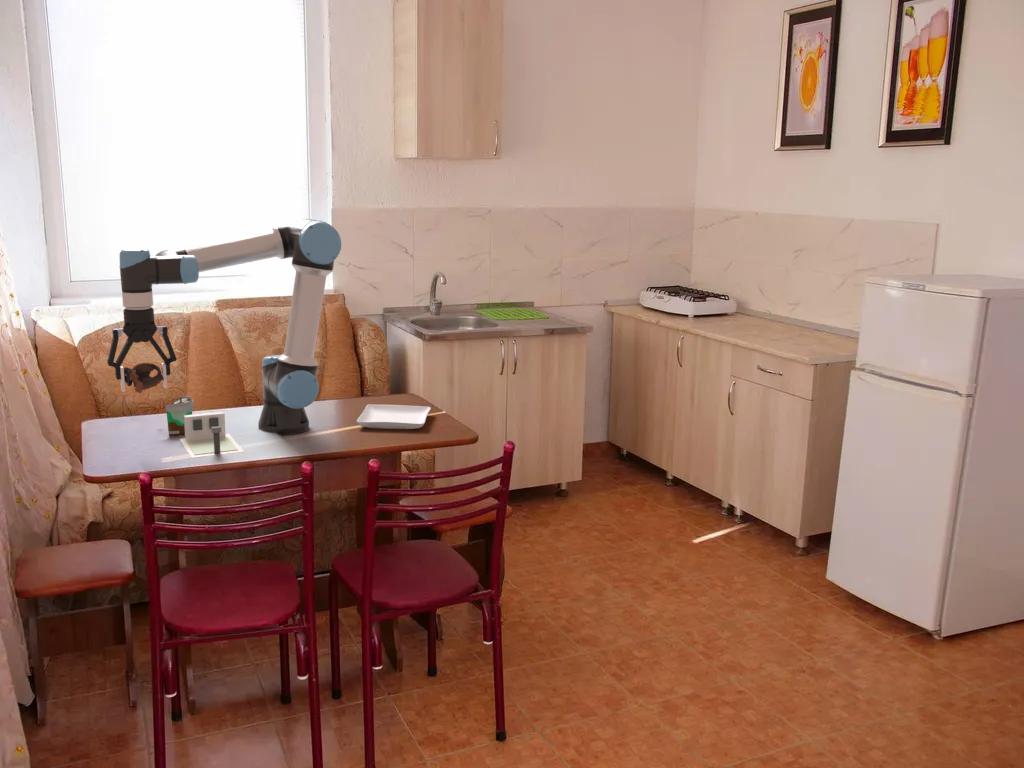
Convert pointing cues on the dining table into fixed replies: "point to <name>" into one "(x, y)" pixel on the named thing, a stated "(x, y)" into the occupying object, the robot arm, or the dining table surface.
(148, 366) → the pottery mug
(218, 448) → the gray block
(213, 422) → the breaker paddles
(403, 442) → the dining table surface
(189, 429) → the stand
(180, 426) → the food container
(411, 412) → the salad plate
